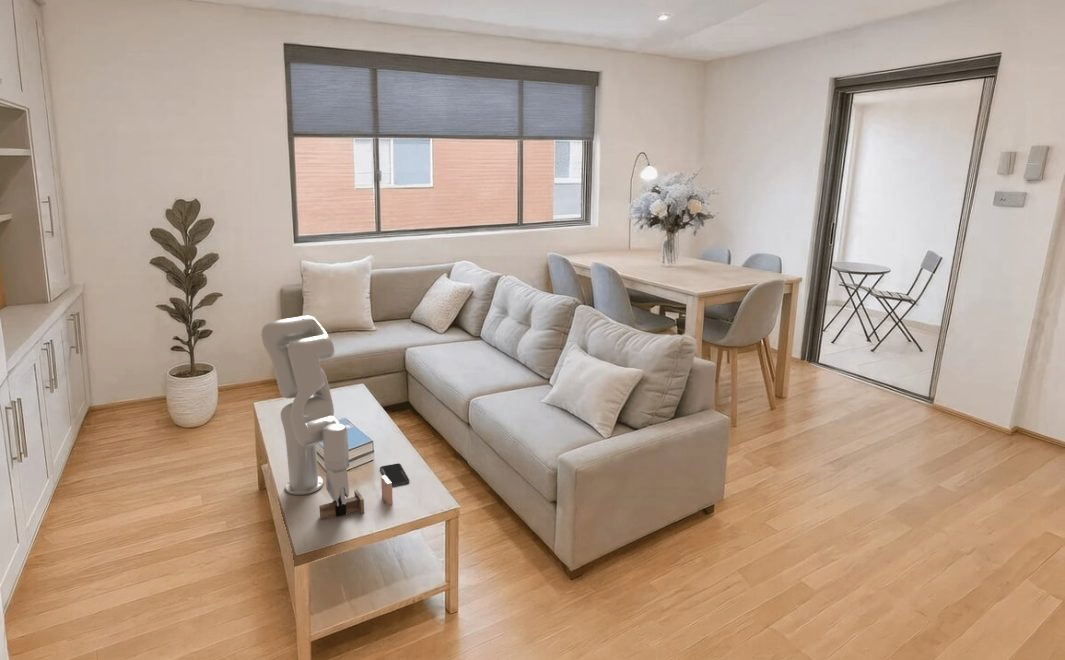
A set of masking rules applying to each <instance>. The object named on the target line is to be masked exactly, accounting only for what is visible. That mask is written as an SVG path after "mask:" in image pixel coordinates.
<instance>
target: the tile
mask: <svg viewBox="0 0 1065 660" xmlns="http://www.w3.org/2000/svg"><path fill="white" fill-rule="evenodd" d="M380 480H381V481H380V483H381V484H380V485H381V497H382V499H383V501H384V502H385V503H386V505H387V506H392V504H393V503H394V502H393V487H392V482H391V481H390V480H389V479H388V477H387V476H385V475H384V476H383V475H380Z"/></svg>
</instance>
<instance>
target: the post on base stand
mask: <svg viewBox="0 0 1065 660" xmlns="http://www.w3.org/2000/svg"><path fill="white" fill-rule="evenodd" d="M353 493H354V494H353V495H354V496H351V497H346V498H345V499H346V513H347V514H350V513H349V512H351V513H353V512H358V511H359V510H360V511H359V512H360V513H361V514H365V498H364V497H363V496H362V495H361V493H360V491H359V490H358V489H354V492H353ZM335 505H336V501H335V502H333V501H331V502H328V503H324V504H321V505H319V507H318V508H319V517H320V519H321V520H322V521H324V519H325V520H327V519H332V518H335V516H336V508H335ZM357 510H358V511H357ZM331 517H332V518H331ZM336 517H337V516H336Z"/></svg>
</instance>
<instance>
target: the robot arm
mask: <svg viewBox="0 0 1065 660" xmlns="http://www.w3.org/2000/svg"><path fill="white" fill-rule="evenodd" d="M261 341H262V344H263V346H264V349H265V351H266V352H267V354H268V355H269V357H270V359H271V363H272V365H273V370H274V374H275V379H276V383H277V387H278V391H279V392H280V395H281V397H283V398H284V399H294V400H293V401H292V402H290V403H288V404H286V405H285V406H284V407H283V408H282V409H281V411H280V420H281V423H282V427H283V431H284V437H285V444H286V445H285V447H286V453H287V454H286V456H287V466H288V467H287V469H288V480H287V481H286V483H285V485H284V488H285V489H284V490H285V491H286V492H287V493H288V494H291V495H295V496H303V495H304V496H305V495H309V494H313V493H315V492H317V491H318V490H320V489H321V488H323V486H324V479H323V477H321V476H320V475H319V472H318V471H319V467H318V456H317V454H318V453H317V444H319V443H322V447H323V462H324V463H323V464H324V469H325V473H326V475H325V479H326V480H325V481H326V483H325V485H326V491H327V492H328V494H329V496H330V497H331V499H332V502H335V501H336V505H335V508H336V518H337V517H338V516H339V517H341V516H346V515H347V514H346V499H347V498H349V495H350V494H349V493H350V490H349V477H348V468H349V467H350V457H349V456H350V454H349V437H348V434H349V433H348V428H347V426H346V425H345V424H343V423H341V422H340V420H339V419H338V418H337V416H335V407H334V403H333V398H332V392H331V388H330V384H329V380H328V378H327V374H326V373H325V370H324V369H323V368H322V366H321V364H320V362H321V361H322V362H323V361H325V360H330V359H331V358H333V357H334V354H335V346H334V342H333V341H332V339H331V337H330V335H329V334H328V332H327V330H325V328H324V326H322V325H321V323H320V322H319V321H318V320H317V319H316V318H315V317H314V316H312V315H299V316H293V317H288V318H281V319H276V320H272V321H270V322H267V323H266V324H264V325H263V327H262V329H261Z"/></svg>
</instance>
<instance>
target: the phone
mask: <svg viewBox="0 0 1065 660" xmlns="http://www.w3.org/2000/svg"><path fill="white" fill-rule="evenodd" d="M379 471H380V473H381V476H384V475H385V476H387V477H388V479H389V480H390V481H391V482H392V488H393V486H394V487H399V486H403V484H404V485H408V484H409V483H410V479H409V476H408V475H407V473H406V472H405V469H404V467H403V466H402V463H393V464H386V465H381V466H380V467H379ZM396 485H397V486H396ZM398 485H399V486H398Z"/></svg>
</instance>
